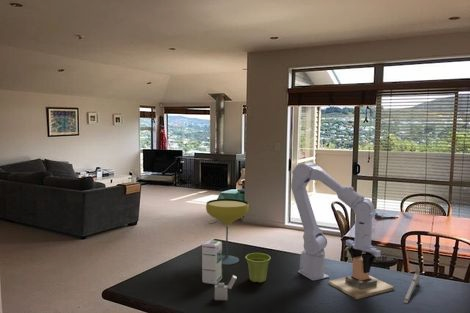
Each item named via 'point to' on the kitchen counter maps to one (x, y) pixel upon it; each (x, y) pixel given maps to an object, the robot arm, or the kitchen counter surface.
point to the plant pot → (257, 266)
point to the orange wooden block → (359, 269)
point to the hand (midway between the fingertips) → (361, 270)
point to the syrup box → (212, 261)
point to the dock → (360, 286)
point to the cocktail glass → (227, 218)
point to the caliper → (412, 286)
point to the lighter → (223, 289)
